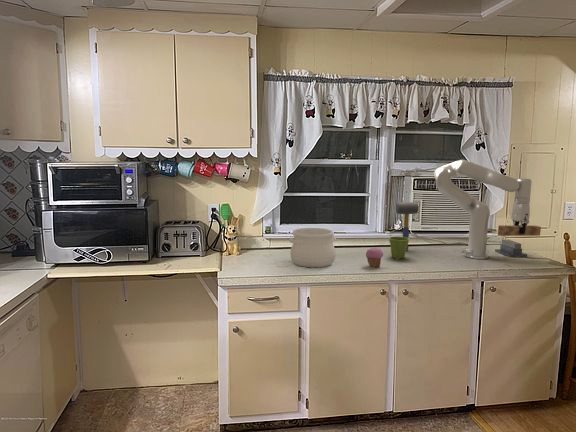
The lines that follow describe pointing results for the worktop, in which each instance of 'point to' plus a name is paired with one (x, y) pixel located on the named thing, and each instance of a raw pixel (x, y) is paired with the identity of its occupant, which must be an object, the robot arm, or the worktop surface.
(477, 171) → the robot arm
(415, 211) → the rubber mallet
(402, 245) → the plant pot
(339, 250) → the worktop surface
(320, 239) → the pot
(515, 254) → the fulcrum stand
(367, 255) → the cupcake
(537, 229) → the walnut rod
